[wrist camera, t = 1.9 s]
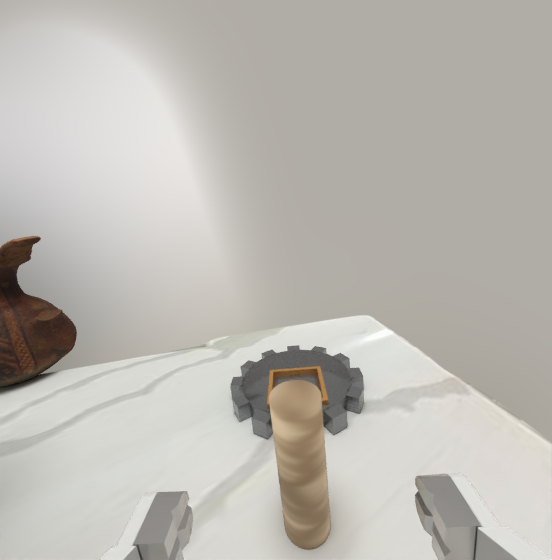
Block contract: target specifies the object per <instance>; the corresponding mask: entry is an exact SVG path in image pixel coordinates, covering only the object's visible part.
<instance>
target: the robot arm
mask: <svg viewBox="0 0 552 560" xmlns="http://www.w3.org/2000/svg"><path fill="white" fill-rule="evenodd" d="M415 485H416V487H417V489H418V492H417V493H416V494H415V502H416V507H417V512H418V515H419V518H420V521H421V523H422V525H423V528H424V530H425V531H426V532H427V533H428V534H430V535H431V536H432V548H433V550H434V552H435V554H436V556H437V558H438V560H552V559H551V558H550V557H549V556H547V555H546V554H544V553H543V552H542V551H540V550H539V549H538V548H536V547H535V546H533V545H532V544H531V543H529V542H528V541H526V540H525V539H524V538H522V537H521V536H520V535H518V534H517V533H515V532H514V531H513V530H511V529H510V528H509V527H507V526H501V525H500V523H499V522H498V521H497V519H496V518H495V516H494V515H493V514H492V512H491V511H490V509H489V508H488V507H487V505H486V504H485V502H484V501H483V500H482V498H481V497H480V495H479V494H478V493H477V491H476V490H475V488H474V487H473V486H472V484H471V483H470V481H469V480H468V479H467V477H466V476H465V475H464V474H462V473H454V474H435V475H423V476H417V477H416V479H415ZM188 500H189V496H188V493H187V491H182V492H153V493H145V494H144V495H143V496H142V497H141V498H140V500H139V502H138V504H137V506H136V508H135V510H134V512H133V514H132V516H131V518H130V520H129V522H128V524H127V526H126V528H125V530H124V532H123V534H122V536H121V538H120V540H119V542H118V543H117V545H116V547H111V548H110V549H109V550H108V551H107V552H106V553H105V554H104V555H103V556H102V557H101V558H100V559H99V560H184V558H183V554H182V550H183V549H184V548H185V546H186V545H187V544H188V543H189V539H190V535H191V531H192V524H193V513H192V509H191V507H189V506H188V505H187V503H188Z"/></svg>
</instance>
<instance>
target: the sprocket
mask: <svg viewBox="0 0 552 560" xmlns="http://www.w3.org/2000/svg"><path fill="white" fill-rule="evenodd" d="M287 348H288V351H285V352H280V353H275V352H274V351H273V350H270V351H267V352H264V353H262V359H261V360H260V361H258V362H253V361H247V362H246V363H245V364H244V365H243V366H241V372H242V377H233V380H232V383H231V392H232V401H233V407H234V413H235V414H236V416H237V418H238V420H239V421H240V422H241V421H243V420H245V419H247V418H249V417H251V416H252V425H253V432H254V434H257V435H259V436H261V437H264V438H266V439H269V437H270V436H271V435H272V433H273V428H272V420H271V412H270V404H269V395H270V392H271V391H272V390H273V388H274V387H276V386H277V385H279V384H281V383H283V382H286V381H290V380H304V381H308V382H310V383H312V384H314V385H315V386H317V387H318V389H319V390H320V392H321V399H322V413H323V427H324V426H325V427H326V428H327V429H328V430H329V431H330V432H331V433H332V434H333V435H335V434H336V433H338V432H340V431H341V430H343V429H345V428H347V411H346V410H349V411H352V412H356V413H359V414H360V412H361V409H362V407H363V404H364V391H363V375H362V373H361V371H360V369H359V368H350V362H349V358H348V357H346V356H344V355H343V354H341V353H340V354H337V355H335V356H330V355H328V354H326V348H322V347H316V346H315V347H314V348H313V349H312V350H311V351H310V350H300V349H299V346H287Z"/></svg>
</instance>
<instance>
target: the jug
mask: <svg viewBox="0 0 552 560" xmlns="http://www.w3.org/2000/svg"><path fill="white" fill-rule="evenodd" d="M40 239H41V238H40V237H38V236H31V237H24V238H19V239H14V240H11V241H9V242H7V243H6V244H4V245H2V247H1V248H0V387H2V386H8V385H12V384H16V383H19V382H22V381H25V380H28V379H30V378H32V377H35V376H37V375H38V374H40V373H42V372H44V371H45V370H47V369H48V368H50V367H51V366H53V365H54V364H55V363H56V362H58V361H59V360H60V359H61V358H62V357H64V356H65V355H66V354H67V353H69V352H70V351H71V350H72V349H73V347H74V345H75V341H76V333H77V332H76V327H75V326H74V324H73V322H72V321H71V320H70V319H69V318H68V317H67V316H66V315H65V314H64V313H63V312H62V310H60V309H58V308H56V307H55V306H54V305H53V304H51V303H49V302H47V301H45V300H43V299H40V298H38V297H34V296H30V295H27V294H25V293H24V292H23V291H22V289H21V288H20V286H19V284H18V281H17V275H16V274H17V270H18V267H19V265H21V264H23V263H25V262H27V261H29V260H30V259H31V256H30V255H31V252H32V246H33V244H35V243H37V242H38V241H39V240H40Z"/></svg>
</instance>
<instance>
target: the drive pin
mask: <svg viewBox="0 0 552 560" xmlns="http://www.w3.org/2000/svg"><path fill="white" fill-rule="evenodd" d="M269 404H270V412H271V420H272V428H273V436H274V444H275V452H276V460H277V468H278V476H279V484H280V492H281V500H282V508H283V516H284V524H285V530H286V533H287V535H288V537H289V539H290V540H291V541H292V542H293V543H294V544H295V545H296V546H298V547H300V548H303V549H314V548H317V547H319V546H320V545H322V544H323V543H324V542H325V541H326V539H327V537H328V535H329V532H330V526H331V523H330V509H329V495H328V482H327V468H326V454H325V440H324V427H323V413H322V399H321V392H320V390H319V389H318V387H317V386H315V385H314V384H312V383H310V382H308V381H304V380H290V381H286V382H283V383H281V384H279V385H277V386H276V387H274V388H273V390H272V391H271V392H270V395H269Z"/></svg>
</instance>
